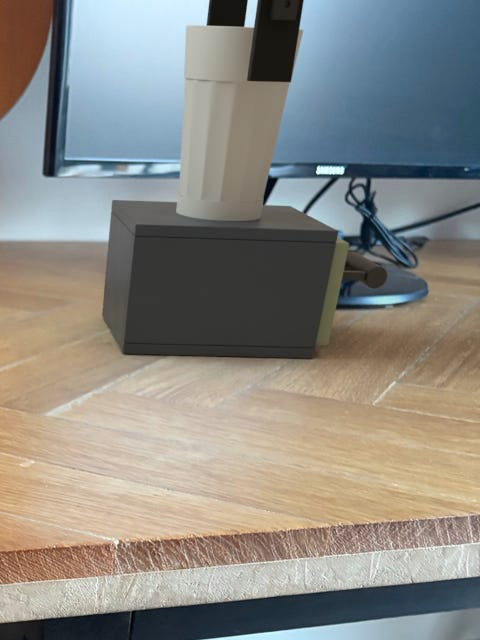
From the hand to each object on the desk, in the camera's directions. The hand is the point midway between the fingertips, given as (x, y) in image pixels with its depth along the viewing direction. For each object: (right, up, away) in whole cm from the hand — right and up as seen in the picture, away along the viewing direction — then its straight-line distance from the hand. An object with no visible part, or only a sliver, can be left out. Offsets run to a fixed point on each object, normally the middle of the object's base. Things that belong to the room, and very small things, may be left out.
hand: (242, 77), depth 70 cm
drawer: (+3, -15, +9) cm, 18 cm away
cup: (-1, -8, +5) cm, 9 cm away
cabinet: (-1, -15, +9) cm, 18 cm away
